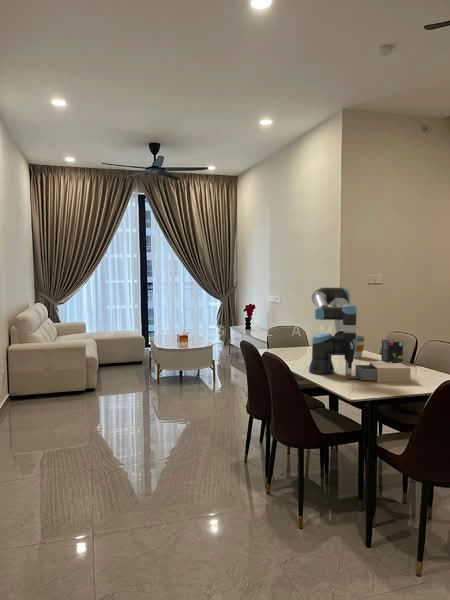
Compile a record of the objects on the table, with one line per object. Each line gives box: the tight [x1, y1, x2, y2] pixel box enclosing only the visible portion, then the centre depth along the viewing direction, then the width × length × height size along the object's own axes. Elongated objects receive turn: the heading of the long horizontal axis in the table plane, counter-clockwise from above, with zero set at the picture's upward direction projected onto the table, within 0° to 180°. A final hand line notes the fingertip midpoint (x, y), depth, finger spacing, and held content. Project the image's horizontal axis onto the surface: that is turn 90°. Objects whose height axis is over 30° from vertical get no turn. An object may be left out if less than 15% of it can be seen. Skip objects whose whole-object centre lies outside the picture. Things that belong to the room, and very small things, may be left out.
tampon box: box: [380, 339, 404, 363], centre depth 304 cm, size 11×9×15 cm
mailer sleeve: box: [369, 362, 412, 383], centre depth 252 cm, size 18×15×8 cm
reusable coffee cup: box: [353, 335, 365, 359], centre depth 320 cm, size 12×13×15 cm
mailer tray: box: [344, 360, 377, 381], centre depth 252 cm, size 24×12×10 cm, turn 88°
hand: (348, 372), depth 252 cm, fingers closed on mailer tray, 2 cm apart
